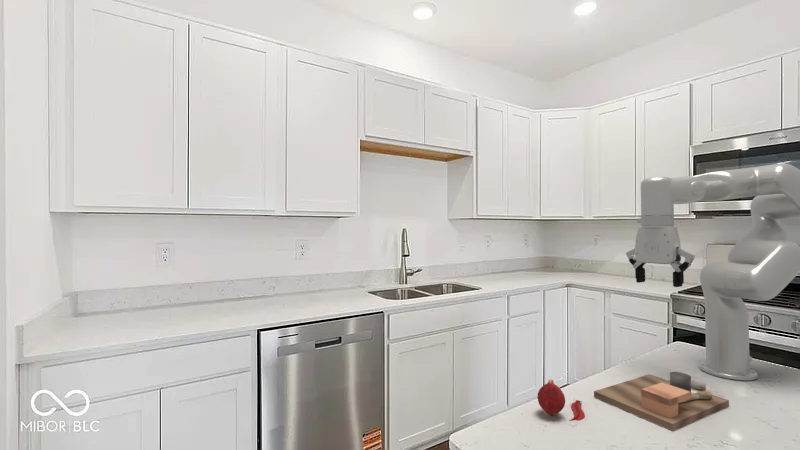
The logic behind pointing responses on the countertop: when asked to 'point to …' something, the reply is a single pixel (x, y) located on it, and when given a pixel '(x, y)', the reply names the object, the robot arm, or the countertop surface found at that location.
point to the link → (689, 386)
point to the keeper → (664, 399)
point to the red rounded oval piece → (551, 398)
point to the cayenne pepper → (577, 411)
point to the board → (630, 401)
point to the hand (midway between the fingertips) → (658, 284)
